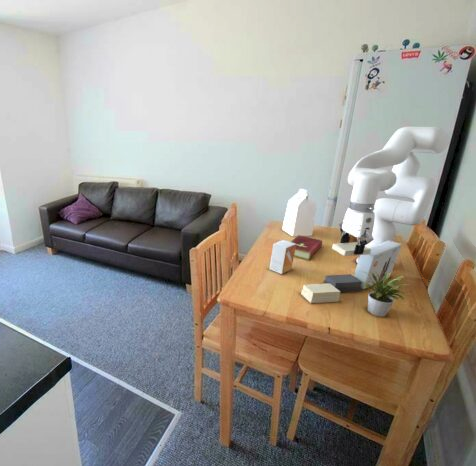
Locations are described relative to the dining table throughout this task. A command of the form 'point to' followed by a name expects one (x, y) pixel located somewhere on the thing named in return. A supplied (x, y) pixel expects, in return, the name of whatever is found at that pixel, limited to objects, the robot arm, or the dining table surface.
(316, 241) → the hardcover book
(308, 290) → the cream book stack
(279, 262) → the small box
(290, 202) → the milk
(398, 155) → the robot arm
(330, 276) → the grey book stack
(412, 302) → the dining table surface
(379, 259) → the skincare box
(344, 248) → the cream book
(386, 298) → the house plant
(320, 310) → the dining table surface
